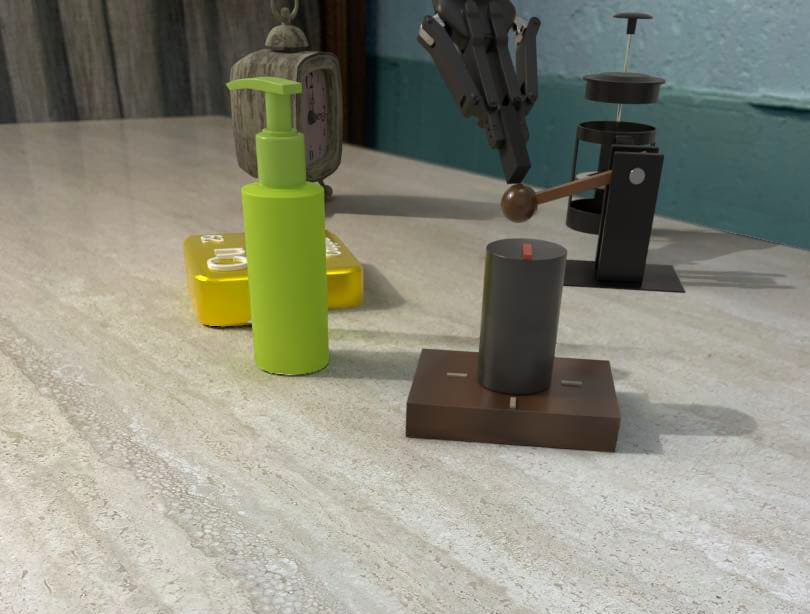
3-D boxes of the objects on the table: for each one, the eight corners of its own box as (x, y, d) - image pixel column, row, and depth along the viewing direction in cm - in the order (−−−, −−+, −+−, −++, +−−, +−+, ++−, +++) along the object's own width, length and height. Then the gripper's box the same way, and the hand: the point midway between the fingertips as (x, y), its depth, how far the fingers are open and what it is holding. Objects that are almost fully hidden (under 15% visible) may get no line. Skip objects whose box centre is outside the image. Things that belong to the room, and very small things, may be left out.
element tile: (368, 317, 78) (368, 264, 76) (200, 330, 74) (193, 274, 72) (332, 270, 90) (331, 222, 87) (185, 279, 86) (179, 229, 84)
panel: (604, 391, 66) (610, 358, 64) (615, 452, 57) (621, 415, 56) (421, 379, 67) (422, 346, 65) (405, 436, 58) (406, 400, 57)
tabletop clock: (300, 220, 108) (289, -20, 94) (235, 213, 110) (215, -22, 96) (344, 196, 119) (340, -20, 105) (284, 191, 121) (273, -22, 108)
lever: (505, 231, 84) (496, 194, 83) (506, 222, 87) (497, 186, 86) (654, 189, 81) (648, 149, 79) (649, 181, 84) (644, 142, 82)
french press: (558, 222, 109) (583, 9, 97) (633, 225, 109) (668, 11, 96) (567, 247, 100) (596, 14, 87) (650, 250, 99) (691, 16, 86)
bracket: (557, 296, 84) (574, 155, 77) (555, 270, 92) (570, 139, 85) (682, 304, 83) (711, 161, 76) (670, 276, 91) (695, 144, 84)
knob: (477, 363, 63) (487, 231, 58) (549, 367, 63) (565, 235, 57) (475, 392, 59) (485, 252, 53) (552, 396, 58) (570, 256, 53)
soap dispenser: (280, 339, 73) (263, 71, 62) (344, 359, 70) (338, 79, 59) (230, 360, 69) (202, 77, 58) (295, 381, 66) (279, 86, 55)
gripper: (506, -4, 92) (562, 195, 89) (391, -6, 89) (444, 201, 85) (534, -65, 85) (596, 148, 82) (410, -70, 82) (470, 153, 78)
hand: (519, 175), depth 83 cm, fingers closed
